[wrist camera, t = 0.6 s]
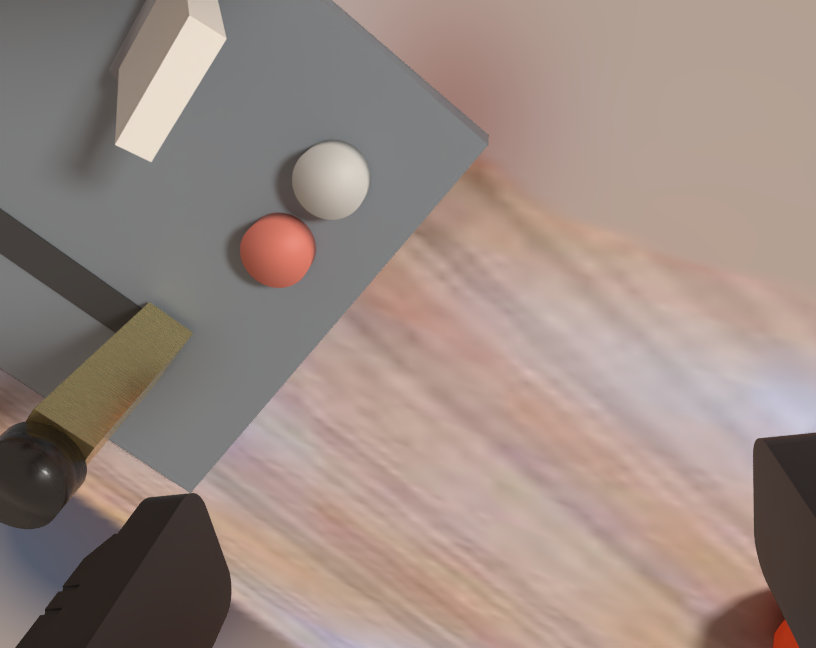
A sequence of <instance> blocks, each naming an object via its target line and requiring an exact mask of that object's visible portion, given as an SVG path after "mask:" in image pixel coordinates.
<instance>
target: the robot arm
mask: <svg viewBox="0 0 816 648" xmlns="http://www.w3.org/2000/svg"><path fill="white" fill-rule="evenodd" d="M753 486H754V537H755V545H756V550H757V555H758V559H759V563H760V566H761V569H762V572H763V575H764V577H765V580H766V582H767V584H768V586H769V588H770V590H771V592H772V594H773V596H774V598H775V600H776V602H777V604H778V606H779V608H780V610H781V612H782V614H783V616H784V618H785V620H786V622H787V624H788V626H789V628H790V630H791V632H792V634H793V636H794V638H795V640H796V642H797V644H798V646H799V648H816V433H808V434H798V435H788V436H778V437H768V438H759V439H757V440H756V441H755V444H754V449H753ZM230 601H231V578H230V573H229V570H228V567H227V564H226V561H225V558H224V556H223V553H222V550H221V547H220V544H219V542H218V539H217V536H216V533H215V531H214V528H213V525H212V522H211V519H210V517H209V514H208V511H207V508H206V506H205V503H204V501H203V500H202V498H201V497H200V496H199V495H197V494H195V493H190V494H179V495H169V496H159V497H149V498H146V499H145V500H143V501H142V502H141V503H140V504H139V506H138V507H137V508H136V510H135V511H134V512H133V514H132V515H131V516H130V518H129V519H128V521H127V522H126V523H125V525H124V526H123V527H122V529H121V530H120V531H119V533H118V534H114V535H112V537H110V538H109V539H107V540H106V541H105V542H104V543H103V544H101V545H100V546H99V547H98V548H96V549H95V550H94V551H93V552H91V553H90V554H89V555H88V556H87V557H85V558H84V559H83V561H82V562H81V563H80V564H79V566H78V567H77V568H76V570H75V571H74V572H73V573H72V575H71V576H70V577H69V579H68V580H67V581H66V583H65V584H64V585H63V591H61V592H58V593H57V594H56V596H55V597H54V598H53V600H52V601H51V602H50V603H49V605H48V606H47V607H46V609H45V615H40V616H39V618H38V619H37V620H36V622H35V623H34V624H33V625H32V627H31V628H30V629H29V631H28V632H27V633H26V635H25V636H24V637H23V638H22V640H21V641H20V643H19V644H18V645H17V646H16V648H212V647H213V645H214V643H215V641H216V638H217V636H218V634H219V632H220V629H221V627H222V625H223V623H224V620H225V618H226V616H227V613H228V610H229V607H230Z"/></svg>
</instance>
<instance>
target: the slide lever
mask: <svg viewBox="0 0 816 648" xmlns="http://www.w3.org/2000/svg"><path fill="white" fill-rule="evenodd" d="M192 334H193V332H191V331H190V330H188V329H187V328H186V327H184V326H183V325H181V324H180V323H179V322H177V321H176V320H174V319H173V318H172V317H170V316H169V315H167V314H166V313H164V312H163V311H162V310H160V309H159V308H157V307H156V306H155V305H153V304H152V303H150V302H149V303H148V304H147V305H146V306H145V307H144V308H143V309H141V310H140V311H139V312H138V313H137V314H136V315H135V316H134V317H133V318H132V319H131V320H130V321H128V322H127V323H126V324H125V325H124V326H123V327H122V328H121V329H120V330H119V331H118V332H117V333H115V334H114V335H113V336H112V337H111V338H110V339H109V340H108V341H107V342H106V343H105V344H104V345H102V346H101V347H100V348H99V349H98V350H97V351H96V352H95V353H94V354H93V355H92V356H91V357H89V358H88V359H87V360H86V361H85V362H84V363H83V364H82V365H81V366H80V367H79V368H78V369H76V370H75V371H74V372H73V373H72V374H71V375H70V376H69V377H68V378H67V379H66V380H65V381H63V382H62V383H61V384H60V385H59V386H58V387H57V388H56V389H55V390H54V391H53V392H52V393H50V394H49V395H48V396H47V397H46V398H45V399H44V400H43V401H42V402H41V403H40V404H39V405H37V406H36V407H35V408H34V409H33V411H32V413H31V414H30V416H29V417H28V419H27V420H26V422H22V423H18V424H15V425H13V426H11V427H10V428H9V429H7V430H6V431H5V432H4V433H3V434H2V435H1V436H0V522H1V523H4V524H6V525H9V526H12V527H16V528H22V529H34V528H40V527H43V526H45V525H47V524H48V523H50V522H51V521H52V520H53V519H54V518H55V517H56V515H57V514H58V513H59V512H60V510H61V509H62V508H63V507H64V506H65V504H66V503H67V502H68V501H69V500H70V498H71V497H72V496H73V495H74V494H75V492H76V491H77V490H78V489H79V487H80V486H81V485H82V484H83V482H84V480H85V478H86V474H87V464H88V463H89V462H90V461H91V460H92V459H93V457H94V456H95V455H96V454H97V453H98V451H99V450H100V449H101V448H102V447H103V446H104V444H105V443H106V442H107V441H108V440H109V438H110V437H111V436H112V435H113V434H114V433H115V431H116V430H117V429H118V428H119V427H120V425H121V424H122V423H123V422H124V421H125V420H126V418H127V417H128V416H129V415H130V414H131V412H132V411H133V410H134V409H135V408H136V407H137V405H138V404H139V403H140V402H141V401H142V399H143V398H144V397H145V396H146V395H147V394H148V392H149V391H150V390H151V389H152V388H153V386H154V385H155V384H156V383H157V382H158V380H159V379H160V378H161V376H162V375H163V374H164V372H165V371H166V369H167V368H168V367H169V365H170V364H171V363H172V361H173V360H174V359H175V357H176V356H177V355H178V353H179V352H180V350H181V349H182V348H183V346H184V345H185V344H186V342H187V341H188V340H189V338H190V337H191V336H192Z"/></svg>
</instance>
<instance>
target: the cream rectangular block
mask: <svg viewBox="0 0 816 648" xmlns="http://www.w3.org/2000/svg"><path fill="white" fill-rule="evenodd" d="M226 39H227V38H226V34H225V29H224V25H223V21H222V16H221V12H220V7H219V3H218V0H146V1H145V3H144V5H143V7H142V9H141V11H140V12H139V14H138V16H137V18H136V20H135V22H134V24H133V25H132V27H131V29H130V31H129V33H128V35H127V36H126V38H125V40H124V42H123V44H122V46H121V48H120V49H119V51H118V53H117V55H116V57H115V59H114V61H113V62H112V64H111V66H110V68H109V70H110V73H111V74H112V76H113V77H114V78H115V79H116V80H117V81H118V95H117V115H116V134H115V145H116V146H118V147H121V148H123V149H125V150H127V151H129V152H131V153H133V154H135V155H137V156H139V157H141V158H143V159H146V160H148V161H150V162H152V160H153V159H154V157H155V155H156V154H157V152H158V150H159V149H160V147H161V145H162V144H163V142H164V141H165V139H166V137H167V136H168V134H169V132H170V131H171V129H172V127H173V126H174V124H175V123H176V121H177V119H178V118H179V116H180V114H181V113H182V111H183V109H184V108H185V106H186V105H187V103H188V101H189V100H190V98H191V96H192V95H193V93H194V91H195V90H196V88H197V87H198V85H199V83H200V82H201V80H202V78H203V77H204V75H205V73H206V72H207V70H208V69H209V67H210V65H211V64H212V62H213V60H214V59H215V57H216V55H217V54H218V52H219V51H220V49H221V47H222V46H223V44H224V42H225V41H226Z"/></svg>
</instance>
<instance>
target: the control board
mask: <svg viewBox="0 0 816 648" xmlns="http://www.w3.org/2000/svg"><path fill="white" fill-rule="evenodd" d="M145 1H146V0H0V369H2V370H3V371H5V372H6V373H8V374H10V375H11V376H13V377H14V378H16V379H17V380H19V381H20V382H22V383H23V384H25V385H26V386H28V387H29V388H31V389H32V390H34V391H35V392H37V393H39V394H40V395H42V396H43V397H45V398H46V397H47V396H48V395H49V394H50V393H52V392H53V391H54V390H55V389H56V388H57V387H58V386H59V385H60V384H61V383H62V382H63V381H65V380H66V379H67V378H68V377H69V376H70V375H71V374H72V373H73V372H74V371H75V370H76V369H78V368H79V367H80V366H81V365H82V364H83V363H84V362H85V361H86V360H87V359H88V358H89V357H91V356H92V355H93V354H94V353H95V352H96V351H97V350H98V349H99V348H100V347H101V346H102V345H104V344H105V343H106V342H107V341H108V340H109V339H110V338H111V337H112V336H113V335H114V334H115V333H117V332H118V331H119V330H120V329H121V328H122V327H123V326H124V325H125V324H126V323H127V322H128V321H130V320H131V319H132V318H133V317H134V316H135V315H136V314H137V313H138V312H139V311H140V310H141V309H143V308H144V307H145V306H146V305H147V304H148V303H149V302H150V303H152V304H153V305H155V306H156V307H157V308H159V309H160V310H162V311H163V312H164V313H166V314H167V315H169V316H170V317H172V318H173V319H174V320H176V321H177V322H179V323H180V324H181V325H183V326H184V327H186V328H187V329H188V330H190V331H191V332H193V334H192V336H191V337H190V338H189V340H188V341H187V342H186V344H185V345H184V346H183V348H182V349H181V350H180V352H179V353H178V355H177V356H176V357H175V359H174V360H173V361H172V363H171V364H170V365H169V367H168V368H167V369H166V371H165V372H164V374H163V375H162V376H161V378H160V379H159V380H158V382H157V383H156V384H155V385H154V386H153V388H152V389H151V390H150V391H149V392H148V394H147V395H146V396H145V397H144V398H143V399H142V401H141V402H140V403H139V404H138V405H137V407H136V408H135V409H134V410H133V411H132V412H131V414H130V415H129V416H128V417H127V418H126V420H125V421H124V422H123V423H122V424H121V425H120V427H119V428H118V429H117V430H116V431H115V433H114V434H113V435H112V436H111V437H110V438H109V440H110V441H112V442H113V443H115V444H116V445H118V446H119V447H121V448H123V449H124V450H126V451H127V452H129V453H130V454H132V455H133V456H135V457H136V458H138V459H139V460H141V461H142V462H144V463H145V464H147V465H148V466H150V467H152V468H153V469H155V470H156V471H158V472H159V473H161V474H162V475H164V476H165V477H167V478H168V479H170V480H171V481H173V482H174V483H176V484H177V485H179V486H181V487H182V488H184V489H185V490H187V491H188V492H190V493H191V492H192V491H193V490H194V488H195V487H196V486H197V485H198V484H199V483H200V481H201V480H202V479H203V478H204V477H205V476H206V474H207V473H208V472H209V471H210V470H211V469H212V467H213V466H214V465H215V464H216V463H217V461H218V460H219V459H220V458H221V457H222V456H223V454H224V453H225V452H226V451H227V450H228V449H229V447H230V446H231V445H232V444H233V443H234V442H235V440H236V439H237V438H238V437H239V436H240V435H241V433H242V432H243V431H244V430H245V429H246V428H247V426H248V425H249V424H250V423H251V422H252V421H253V419H254V418H255V417H256V416H257V415H258V414H259V412H260V411H261V410H262V409H263V408H264V407H265V405H266V404H267V403H268V402H269V401H270V399H271V398H272V397H273V396H274V395H275V394H276V392H277V391H278V390H279V389H280V388H281V387H282V385H283V384H284V383H285V382H286V381H287V380H288V378H289V377H290V376H291V375H292V374H293V373H294V371H295V370H296V369H297V368H298V367H299V366H300V364H301V363H302V362H303V361H304V360H305V359H306V357H307V356H308V355H309V354H310V353H311V352H312V350H313V349H314V348H315V347H316V346H317V345H318V343H319V342H320V341H321V340H322V339H323V337H324V336H325V335H326V334H327V333H328V332H329V330H330V329H331V328H332V327H333V326H334V325H335V323H336V322H337V321H338V320H339V319H340V318H341V316H342V315H343V314H344V313H345V312H346V311H347V309H348V308H349V307H350V306H351V305H352V304H353V302H354V301H355V300H356V299H357V298H358V297H359V295H360V294H361V293H362V292H363V291H364V290H365V288H366V287H367V286H368V285H369V284H370V283H371V281H372V280H373V279H374V278H375V277H376V275H377V274H378V273H379V272H380V271H381V270H382V268H383V267H384V266H385V265H386V264H387V263H388V261H389V260H390V259H391V258H392V257H393V256H394V254H395V253H396V252H397V251H398V250H399V249H400V247H401V246H402V245H403V244H404V243H405V242H406V240H407V239H408V238H409V237H410V236H411V235H412V233H413V232H414V231H415V230H416V229H417V228H418V226H419V225H420V224H421V223H422V222H423V220H424V219H425V218H426V217H427V216H428V215H429V213H430V212H431V211H432V210H433V209H434V208H435V206H436V205H437V204H438V203H439V202H440V201H441V199H442V198H443V197H444V196H445V195H446V194H447V192H448V191H449V190H450V189H451V188H452V187H453V185H454V184H455V183H456V182H457V181H458V180H459V178H460V177H461V176H462V175H463V174H464V173H465V171H466V170H467V169H468V168H469V167H470V166H471V164H472V163H473V162H474V161H475V160H476V158H477V157H478V156H479V155H480V154H481V153H482V151H483V150H484V149H485V148H486V147H487V146H488V137H489V135H488V134H487V133H486V132H485V131H483V130H482V129H481V128H480V127H479V126H477V125H476V124H475V123H474V122H473V121H472V120H471V119H469V118H468V117H467V116H466V115H465V114H464V113H462V112H461V111H460V110H459V109H458V108H457V107H455V106H454V105H453V104H452V103H451V102H450V101H448V100H447V99H446V98H445V97H444V96H442V95H441V94H440V93H439V92H438V91H437V90H436V89H434V88H433V87H432V86H431V85H430V84H429V83H427V82H426V81H425V80H424V79H423V78H422V77H421V76H419V75H418V74H417V73H416V72H415V71H414V70H412V69H411V68H410V67H409V66H408V65H407V64H405V63H404V62H403V61H402V60H401V59H399V58H398V57H397V56H396V55H395V54H394V53H393V52H391V51H390V50H389V49H388V48H387V47H386V46H384V45H383V44H382V43H381V42H380V41H379V40H377V39H376V38H375V37H374V36H373V35H372V34H371V33H369V32H368V31H367V30H366V29H365V28H364V27H362V26H361V25H360V24H359V23H358V22H357V21H355V20H354V19H353V18H352V17H351V16H350V15H348V14H347V13H346V12H345V11H344V10H343V9H341V8H340V7H339V6H338V5H337V4H336V3H334V2H333V1H332V0H218V3H219V7H220V12H221V16H222V21H223V25H224V29H225V34H226V38H227V39H226V41H225V42H224V44H223V46H222V47H221V49H220V51H219V52H218V54H217V55H216V57H215V59H214V60H213V62H212V64H211V65H210V67H209V69H208V70H207V72H206V73H205V75H204V77H203V78H202V80H201V82H200V83H199V85H198V87H197V88H196V90H195V91H194V93H193V95H192V96H191V98H190V100H189V101H188V103H187V105H186V106H185V108H184V109H183V111H182V113H181V114H180V116H179V118H178V119H177V121H176V123H175V124H174V126H173V127H172V129H171V131H170V132H169V134H168V136H167V137H166V139H165V141H164V142H163V144H162V145H161V147H160V149H159V150H158V152H157V154H156V155H155V157H154V159H153V160H152V162H150V161H148V160H146V159H143V158H141V157H139V156H137V155H135V154H133V153H131V152H129V151H127V150H125V149H123V148H121V147H118V146H116V145H115V134H116V115H117V95H118V81H117V80H116V79H115V78H114V77H113V76H112V74H111V73H110V70H109V68H110V66H111V64H112V62H113V61H114V59H115V57H116V55H117V53H118V51H119V49H120V48H121V46H122V44H123V42H124V40H125V38H126V36H127V35H128V33H129V31H130V29H131V27H132V25H133V24H134V22H135V20H136V18H137V16H138V14H139V12H140V11H141V9H142V7H143V5H144V3H145Z"/></svg>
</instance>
